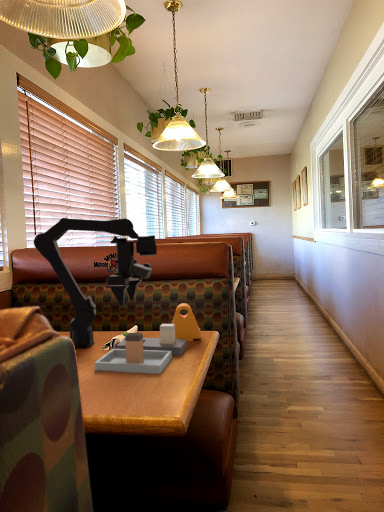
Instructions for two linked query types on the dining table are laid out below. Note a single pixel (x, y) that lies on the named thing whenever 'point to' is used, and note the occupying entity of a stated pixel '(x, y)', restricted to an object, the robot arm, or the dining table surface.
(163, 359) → the parts tray
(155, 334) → the dining table surface
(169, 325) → the block
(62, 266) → the robot arm
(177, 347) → the block
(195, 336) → the bracket
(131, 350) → the block
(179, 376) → the dining table surface
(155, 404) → the dining table surface
